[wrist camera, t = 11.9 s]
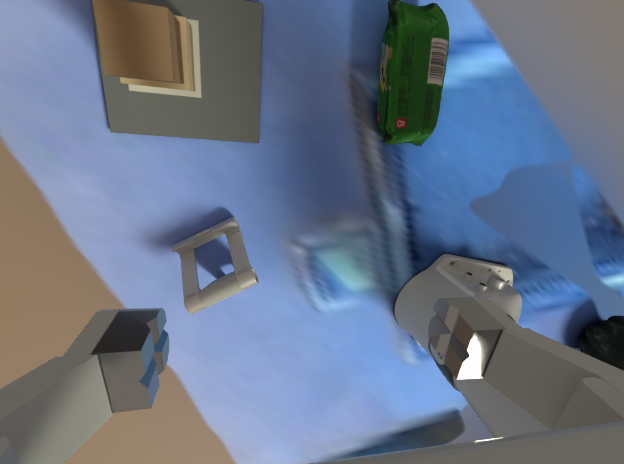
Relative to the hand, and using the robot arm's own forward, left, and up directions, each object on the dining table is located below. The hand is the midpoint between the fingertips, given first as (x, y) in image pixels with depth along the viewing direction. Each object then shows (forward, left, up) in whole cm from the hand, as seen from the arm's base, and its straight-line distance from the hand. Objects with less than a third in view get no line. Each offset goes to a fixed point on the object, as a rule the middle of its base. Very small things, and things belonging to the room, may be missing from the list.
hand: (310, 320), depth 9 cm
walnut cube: (+10, -9, -27) cm, 30 cm away
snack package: (-17, -10, -32) cm, 38 cm away
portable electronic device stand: (+5, +14, -32) cm, 35 cm away
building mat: (+8, -8, -32) cm, 34 cm away
